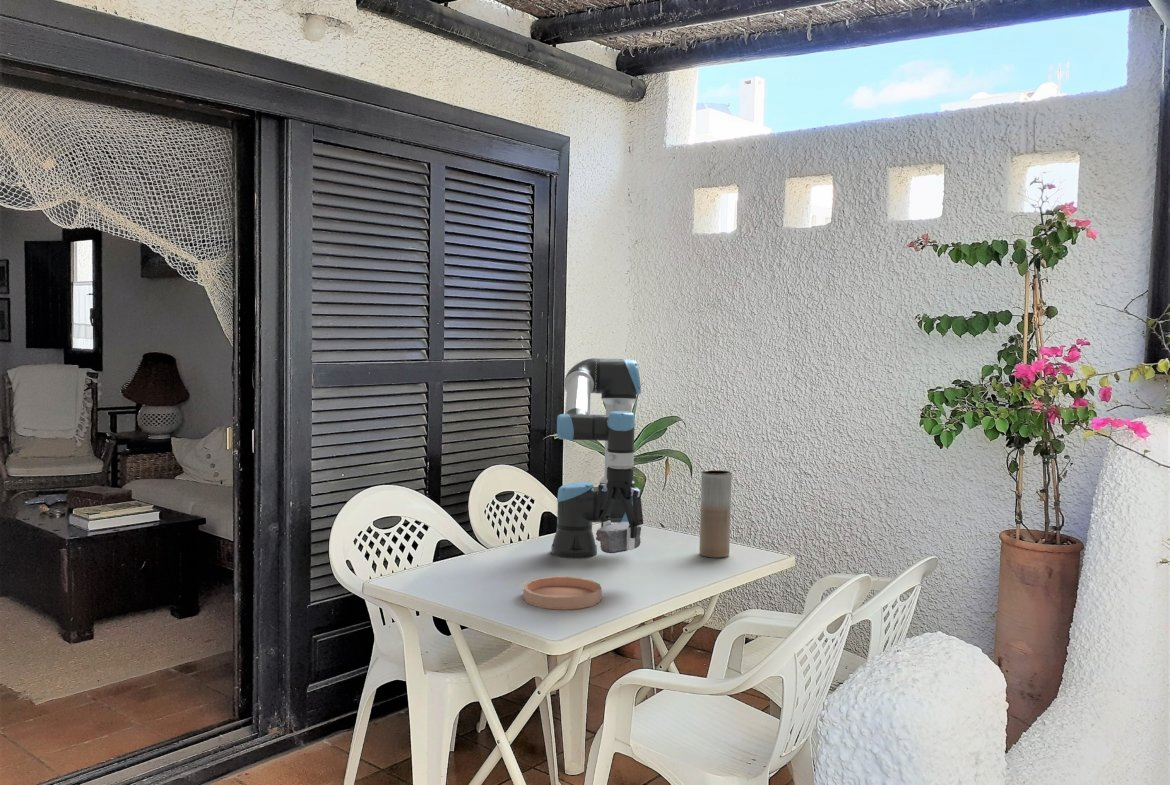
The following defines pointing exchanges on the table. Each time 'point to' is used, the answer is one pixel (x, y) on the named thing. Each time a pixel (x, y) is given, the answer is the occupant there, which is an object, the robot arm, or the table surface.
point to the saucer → (562, 593)
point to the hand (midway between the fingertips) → (618, 546)
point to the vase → (715, 513)
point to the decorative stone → (616, 537)
